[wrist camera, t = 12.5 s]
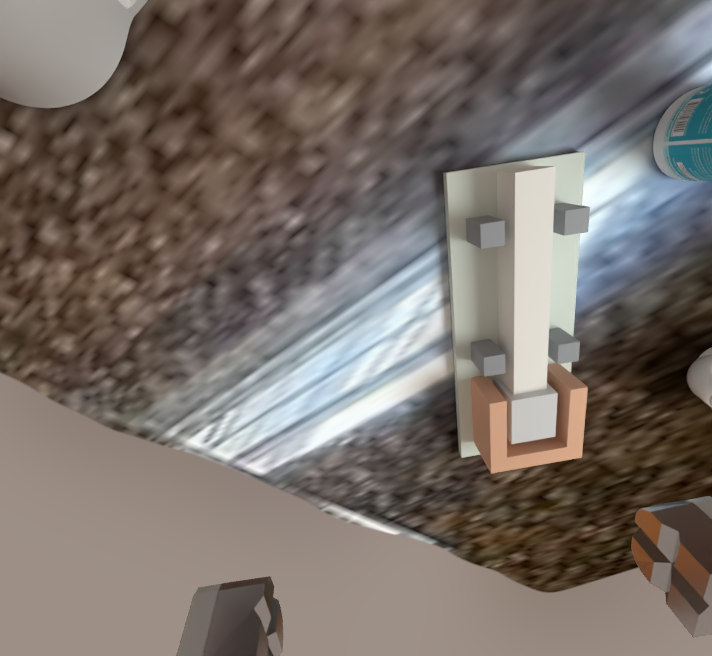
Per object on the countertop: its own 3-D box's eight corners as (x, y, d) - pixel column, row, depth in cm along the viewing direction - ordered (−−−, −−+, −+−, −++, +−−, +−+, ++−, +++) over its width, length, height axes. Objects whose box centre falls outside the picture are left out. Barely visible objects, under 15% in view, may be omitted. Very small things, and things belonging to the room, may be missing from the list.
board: (443, 172, 36) (466, 174, 30) (578, 151, 36) (625, 150, 31) (458, 451, 47) (477, 490, 42) (561, 433, 48) (593, 470, 42)
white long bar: (490, 172, 35) (512, 174, 31) (540, 164, 35) (569, 165, 31) (493, 418, 45) (511, 444, 41) (533, 411, 45) (555, 436, 41)
